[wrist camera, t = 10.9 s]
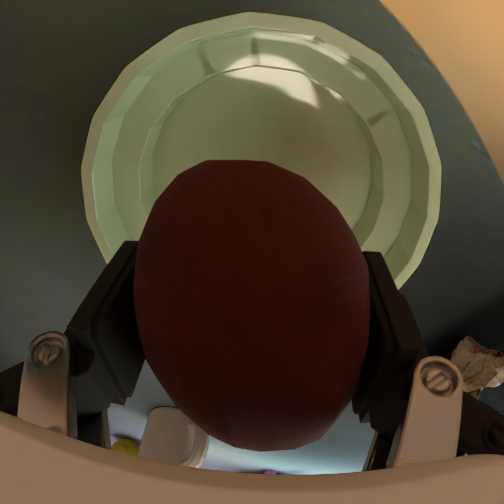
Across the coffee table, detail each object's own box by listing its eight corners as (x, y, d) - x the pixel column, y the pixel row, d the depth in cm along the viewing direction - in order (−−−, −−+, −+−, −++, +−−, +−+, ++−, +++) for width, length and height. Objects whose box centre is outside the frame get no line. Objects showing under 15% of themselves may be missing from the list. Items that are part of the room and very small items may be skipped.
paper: (481, 406, 33) (495, 450, 26) (383, 439, 37) (390, 486, 30) (519, 279, 21) (561, 338, 14) (369, 331, 25) (386, 410, 18)
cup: (139, 412, 36) (122, 470, 28) (187, 394, 32) (171, 467, 24) (181, 434, 38) (170, 490, 31) (233, 420, 34) (225, 487, 27)
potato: (230, 524, 7) (387, 433, 9) (85, 256, 3) (454, 161, 5) (157, 374, 13) (277, 326, 15) (89, 165, 9) (260, 129, 11)
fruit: (154, 448, 43) (139, 510, 33) (129, 447, 45) (114, 505, 35) (132, 433, 41) (113, 499, 31) (107, 432, 42) (88, 493, 32)
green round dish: (80, 188, 19) (39, 223, 15) (253, -29, 12) (244, -61, 8) (265, 327, 25) (263, 379, 21) (450, 184, 17) (490, 221, 13)
